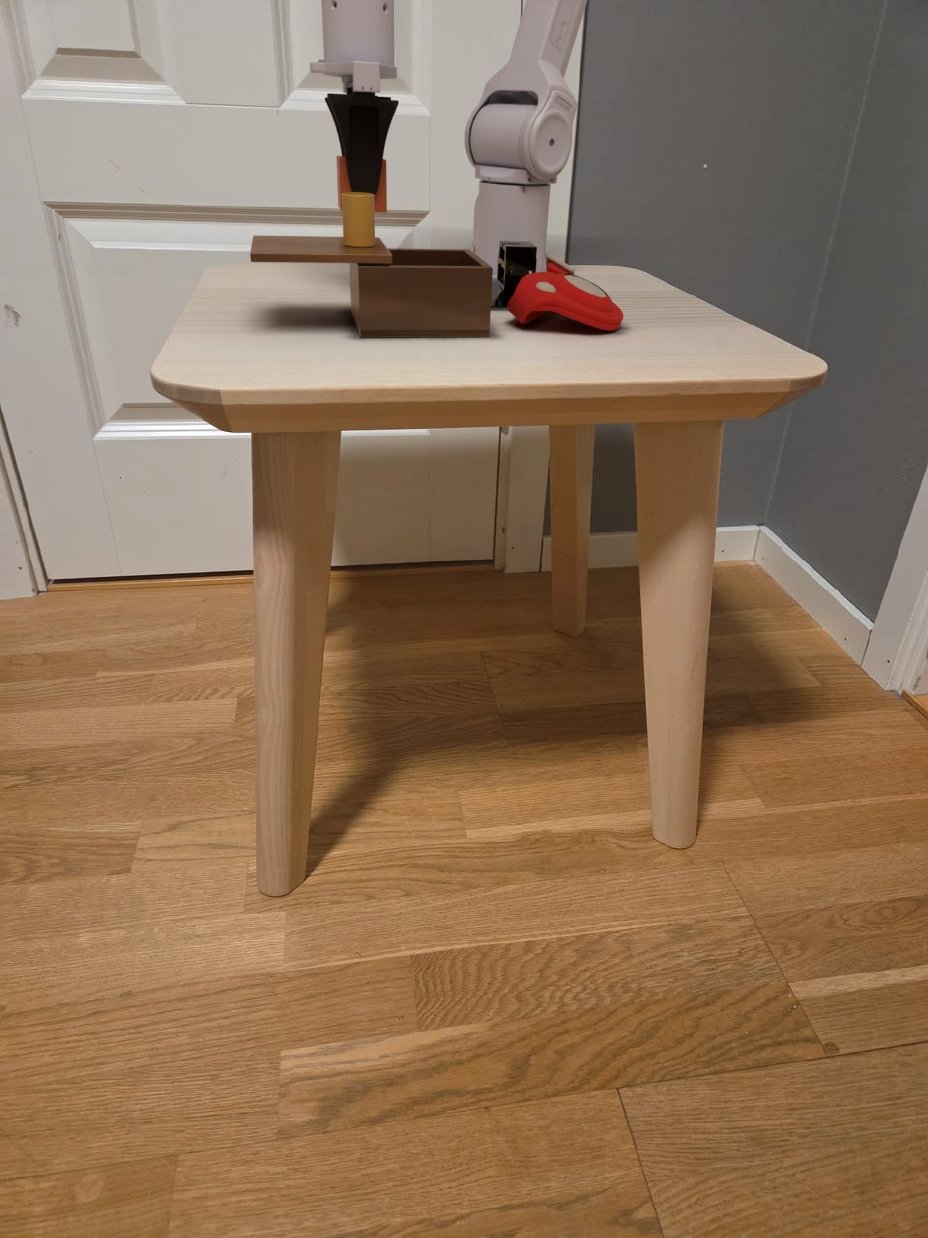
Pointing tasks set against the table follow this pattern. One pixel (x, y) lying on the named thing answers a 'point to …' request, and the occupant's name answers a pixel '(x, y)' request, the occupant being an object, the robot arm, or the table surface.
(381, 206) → the terracotta block
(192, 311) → the table surface
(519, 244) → the black rack
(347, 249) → the slide lid
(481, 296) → the walnut box
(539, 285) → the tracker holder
